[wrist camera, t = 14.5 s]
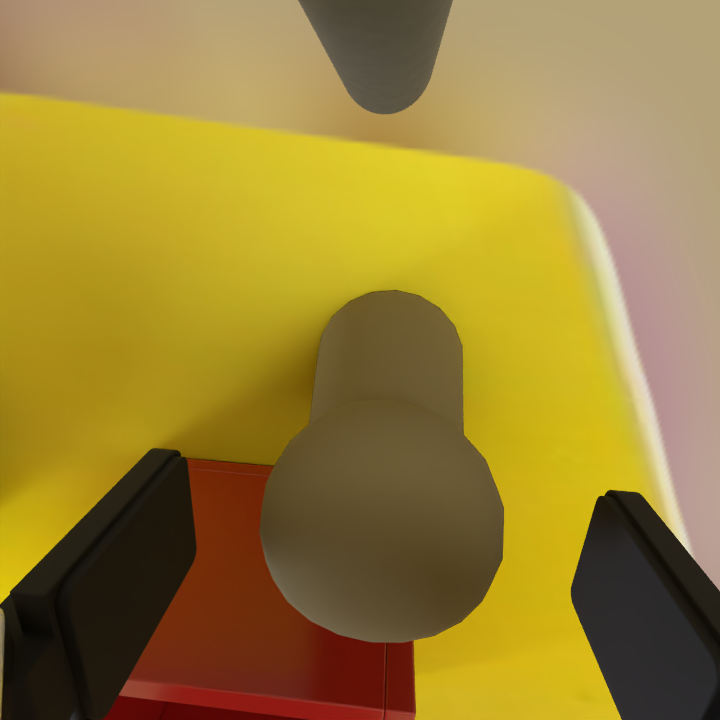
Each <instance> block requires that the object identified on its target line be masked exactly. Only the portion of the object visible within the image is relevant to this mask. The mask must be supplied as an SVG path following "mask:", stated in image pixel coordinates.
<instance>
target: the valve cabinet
mask: <svg viewBox="0 0 720 720" xmlns="http://www.w3.org/2000/svg"><path fill="white" fill-rule="evenodd" d="M187 462H188V469H189V478H190V488H191V497H192V507H193V516H194V525H195V535H196V544H197V551H196V556H195V560H194V562H193V564H192V566H191V568H190V570H189V572H188V573H187V575H186V577H185V579H184V580H183V582H182V584H181V586H180V587H179V589H178V591H177V593H176V595H175V596H174V598H173V600H172V602H171V603H170V605H169V607H168V609H167V611H166V612H165V614H164V616H163V618H162V619H161V621H160V623H159V625H158V626H157V628H156V630H155V632H154V634H153V635H152V637H151V639H150V641H149V642H148V644H147V646H146V648H145V650H144V651H143V653H142V655H141V657H140V658H139V660H138V662H137V664H136V665H135V667H134V669H133V671H132V673H131V674H130V676H129V678H128V680H127V681H126V683H125V685H124V687H123V689H122V690H121V692H120V694H119V696H118V697H117V699H116V701H115V703H114V704H113V706H112V708H111V710H110V711H109V713H108V714H107V715H106V717H105V718H104V719H102V720H415V716H416V701H415V669H414V640H412V641H408V642H403V643H397V642H368V641H363V640H359V639H355V638H350V637H346V636H342V635H338V634H336V633H334V632H332V631H330V630H328V629H326V628H324V627H322V626H320V625H318V624H316V623H314V622H312V621H310V620H309V619H308V618H306V617H305V616H304V615H303V614H302V613H300V612H299V611H298V610H297V609H296V608H295V607H293V606H292V605H291V604H290V603H289V602H288V601H287V600H286V598H285V597H284V595H283V594H282V592H281V591H280V589H279V588H278V586H277V585H276V583H275V581H274V580H273V578H272V576H271V573H270V571H269V568H268V565H267V563H266V559H265V555H264V550H263V546H262V542H261V537H260V533H259V531H260V518H261V510H262V504H263V498H264V492H265V486H266V482H267V480H268V478H269V476H270V474H271V472H272V470H273V468H274V466H263V465H252V464H241V463H230V462H219V461H208V460H197V459H187Z"/></svg>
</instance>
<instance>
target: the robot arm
mask: <svg viewBox="0 0 720 720" xmlns="http://www.w3.org/2000/svg"><path fill="white" fill-rule="evenodd" d="M196 551H197V544H196V535H195V525H194V516H193V507H192V497H191V488H190V478H189V469H188V462H187V459H186V458H185V457H181V454H180V452H179V451H177V450H168V449H157V448H154V449H151V450H150V451H148V452H147V453H146V455H145V456H144V457H143V458H142V459H141V460H140V461H139V462H138V463H137V464H136V465H135V466H134V467H133V468H132V469H131V470H130V471H129V472H128V473H127V474H126V475H125V476H124V477H123V478H122V479H121V480H120V481H119V482H118V483H117V484H116V485H115V486H114V487H113V488H112V489H111V490H110V491H109V492H108V493H107V494H106V495H105V496H104V497H103V498H102V499H101V500H100V501H99V502H98V503H97V504H96V505H95V506H94V507H93V508H92V509H91V510H90V511H89V512H88V513H87V514H86V515H85V516H84V517H83V518H82V519H81V520H80V521H79V522H78V523H77V524H76V525H75V526H74V527H73V528H72V529H71V530H70V531H69V532H68V534H67V535H66V536H65V537H64V538H63V539H62V540H61V541H60V542H59V543H58V544H57V545H56V546H55V547H54V548H53V549H52V550H51V551H50V552H49V553H48V554H47V555H46V556H45V557H44V558H43V559H42V560H41V561H40V562H39V563H38V564H37V565H36V566H35V567H34V568H33V569H32V570H31V571H30V572H29V573H28V574H27V575H26V576H25V577H24V578H23V579H22V580H21V581H20V582H19V583H18V584H17V585H16V586H15V587H14V588H13V589H12V590H11V591H10V595H9V596H8V597H7V598H6V599H5V600H4V601H3V602H2V603H1V604H0V720H102V719H104V718H105V717H106V715H107V714H108V713H109V711H110V710H111V708H112V706H113V704H114V703H115V701H116V699H117V697H118V696H119V694H120V692H121V690H122V689H123V687H124V685H125V683H126V681H127V680H128V678H129V676H130V674H131V673H132V671H133V669H134V667H135V665H136V664H137V662H138V660H139V658H140V657H141V655H142V653H143V651H144V650H145V648H146V646H147V644H148V642H149V641H150V639H151V637H152V635H153V634H154V632H155V630H156V628H157V626H158V625H159V623H160V621H161V619H162V618H163V616H164V614H165V612H166V611H167V609H168V607H169V605H170V603H171V602H172V600H173V598H174V596H175V595H176V593H177V591H178V589H179V587H180V586H181V584H182V582H183V580H184V579H185V577H186V575H187V573H188V572H189V570H190V568H191V566H192V564H193V562H194V560H195V556H196ZM571 598H572V603H573V606H574V608H575V610H576V613H577V615H578V618H579V620H580V622H581V625H582V627H583V629H584V632H585V634H586V636H587V639H588V641H589V643H590V646H591V648H592V650H593V653H594V655H595V658H596V660H597V662H598V665H599V667H600V669H601V672H602V674H603V676H604V679H605V681H606V683H607V686H608V688H609V691H610V693H611V695H612V698H613V700H614V702H615V705H616V707H617V709H618V712H619V714H620V716H621V719H622V720H720V591H719V590H718V589H717V587H716V586H715V585H714V584H713V583H712V581H711V580H710V579H709V578H708V576H707V575H706V574H705V573H704V571H703V570H702V569H701V568H700V566H699V565H698V564H697V563H696V561H695V560H694V559H693V558H692V557H691V555H690V554H689V553H688V552H687V550H686V549H685V548H684V547H683V545H682V544H681V543H680V542H679V540H678V539H677V538H676V537H675V536H674V534H673V533H672V532H671V531H670V529H669V528H668V527H667V526H666V524H665V523H664V522H663V521H662V520H661V518H660V517H659V516H658V515H657V513H656V512H655V511H654V510H653V508H652V507H651V506H650V505H649V503H648V502H647V501H646V500H645V499H644V497H643V496H642V495H641V494H640V493H637V492H627V491H616V490H609V491H607V492H606V494H605V496H599V497H598V499H597V501H596V504H595V507H594V511H593V514H592V518H591V521H590V525H589V528H588V531H587V535H586V538H585V542H584V545H583V548H582V552H581V555H580V559H579V562H578V566H577V569H576V572H575V576H574V579H573V583H572V587H571Z"/></svg>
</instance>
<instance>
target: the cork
mask: <svg viewBox="0 0 720 720" xmlns="http://www.w3.org/2000/svg"><path fill="white" fill-rule="evenodd" d="M503 529H504V507H503V504H502V501H501V498H500V495H499V492H498V490H497V487H496V484H495V482H494V479H493V477H492V474H491V472H490V469H489V467H488V464H487V462H486V459H485V458H484V457H483V456H482V455H481V454H480V453H479V451H478V450H477V449H476V448H475V447H474V446H473V445H472V444H471V442H470V441H469V440H468V439H467V438H466V437H465V436H464V435H463V354H462V344H461V341H460V339H459V336H458V333H457V331H456V328H455V326H454V324H453V323H452V322H451V321H450V320H449V318H448V317H447V316H446V315H445V314H444V313H443V311H442V310H441V309H440V308H439V307H437V306H436V305H434V304H432V303H431V302H429V301H427V300H426V299H424V298H422V297H421V296H418V295H414V294H410V293H406V292H401V291H397V290H392V291H379V292H371V293H368V294H366V295H364V296H361V297H359V298H356V299H354V300H351V301H350V302H348V303H347V304H346V305H345V306H344V307H343V308H341V309H340V310H339V311H338V312H337V313H336V314H334V315H333V316H332V318H331V320H330V322H329V323H328V325H327V327H326V328H325V330H324V332H323V333H322V336H321V341H320V346H319V351H318V357H317V365H316V373H315V381H314V389H313V397H312V405H311V413H310V421H309V425H308V426H307V427H305V428H304V429H303V430H301V431H300V432H299V433H298V434H297V435H296V436H295V437H294V438H293V439H292V440H290V442H289V443H288V445H287V447H286V448H285V450H284V451H283V453H282V455H281V456H280V458H279V459H278V461H277V463H276V464H275V466H274V468H273V470H272V472H271V474H270V476H269V478H268V480H267V482H266V486H265V492H264V498H263V504H262V510H261V518H260V531H259V533H260V537H261V542H262V546H263V550H264V555H265V559H266V563H267V565H268V568H269V571H270V573H271V576H272V578H273V580H274V581H275V583H276V585H277V586H278V588H279V589H280V591H281V592H282V594H283V595H284V597H285V598H286V600H287V601H288V602H289V603H290V604H291V605H292V606H293V607H295V608H296V609H297V610H298V611H299V612H300V613H302V614H303V615H304V616H305V617H306V618H308V619H309V620H310V621H312V622H314V623H316V624H318V625H320V626H322V627H324V628H326V629H328V630H330V631H332V632H334V633H336V634H338V635H342V636H346V637H350V638H355V639H359V640H363V641H368V642H397V643H403V642H408V641H412V640H417V639H422V638H426V637H431V636H435V635H437V634H439V633H441V632H442V631H444V630H446V629H448V628H450V627H452V626H454V625H456V624H458V623H460V622H462V621H463V620H464V619H465V618H466V617H467V616H468V615H469V614H470V613H471V612H472V611H473V610H474V609H475V608H476V607H477V606H478V605H479V604H480V603H481V602H482V600H483V598H484V597H485V595H486V593H487V591H488V589H489V587H490V585H491V583H492V581H493V579H494V577H495V574H496V572H497V570H498V568H499V566H500V563H501V561H502V559H503Z"/></svg>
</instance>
